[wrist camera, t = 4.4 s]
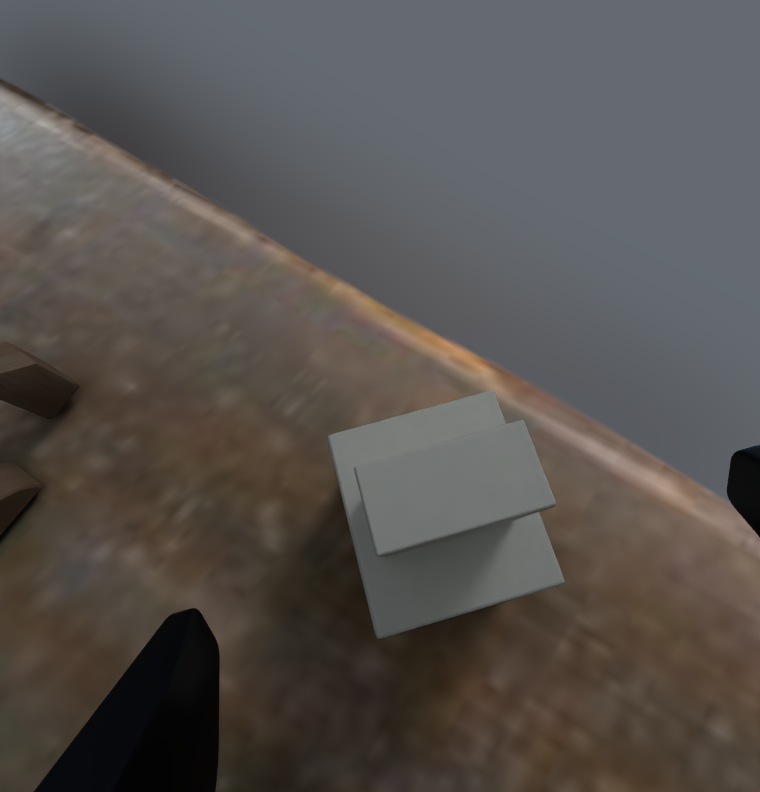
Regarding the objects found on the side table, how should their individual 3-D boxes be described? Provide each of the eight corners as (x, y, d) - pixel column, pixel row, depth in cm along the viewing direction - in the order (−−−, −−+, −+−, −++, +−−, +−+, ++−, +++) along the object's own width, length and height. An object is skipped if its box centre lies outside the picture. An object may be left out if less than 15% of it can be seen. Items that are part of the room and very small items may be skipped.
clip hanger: (515, 576, 16) (631, 593, 8) (384, 614, 15) (365, 673, 7) (467, 437, 17) (524, 332, 9) (348, 470, 17) (300, 392, 9)
